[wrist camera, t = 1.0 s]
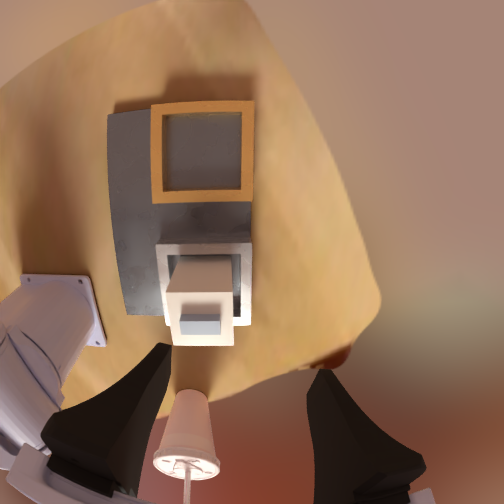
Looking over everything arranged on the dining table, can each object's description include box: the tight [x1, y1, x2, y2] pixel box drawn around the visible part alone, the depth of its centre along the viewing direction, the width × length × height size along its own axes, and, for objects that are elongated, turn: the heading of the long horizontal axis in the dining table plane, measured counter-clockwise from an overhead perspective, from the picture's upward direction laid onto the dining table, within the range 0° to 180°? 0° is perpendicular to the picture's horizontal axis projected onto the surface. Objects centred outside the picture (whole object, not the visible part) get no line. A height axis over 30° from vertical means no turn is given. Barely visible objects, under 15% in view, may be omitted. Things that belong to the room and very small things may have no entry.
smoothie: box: [153, 389, 220, 504], centre depth 22 cm, size 6×6×14 cm
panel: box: [107, 101, 254, 326], centre depth 20 cm, size 11×17×2 cm, turn 179°
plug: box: [165, 256, 234, 346], centre depth 19 cm, size 4×4×7 cm
